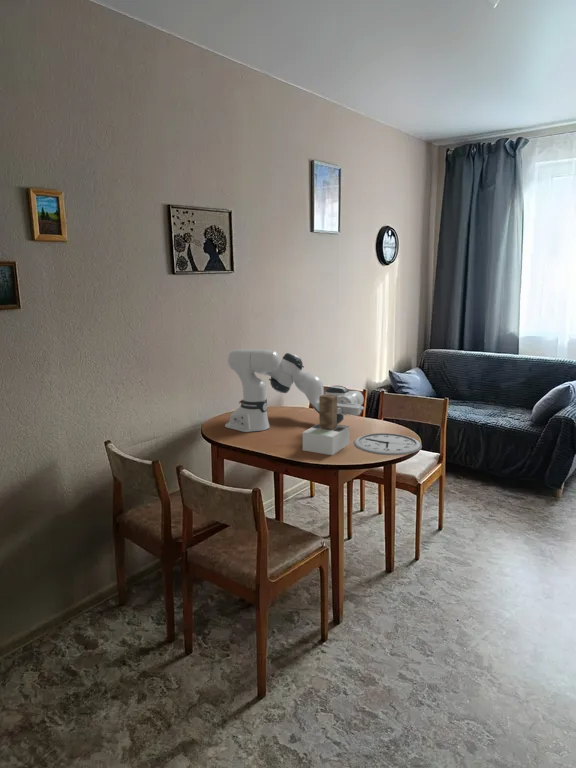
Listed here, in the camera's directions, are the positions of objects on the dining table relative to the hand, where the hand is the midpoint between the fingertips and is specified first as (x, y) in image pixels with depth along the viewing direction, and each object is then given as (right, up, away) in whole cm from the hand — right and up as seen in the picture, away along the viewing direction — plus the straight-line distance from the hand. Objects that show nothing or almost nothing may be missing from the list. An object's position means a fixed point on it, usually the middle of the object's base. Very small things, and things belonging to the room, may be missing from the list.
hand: (332, 411), depth 233 cm
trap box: (-2, -15, 0) cm, 15 cm away
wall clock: (+25, -15, +3) cm, 29 cm away
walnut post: (-2, -7, -1) cm, 7 cm away
